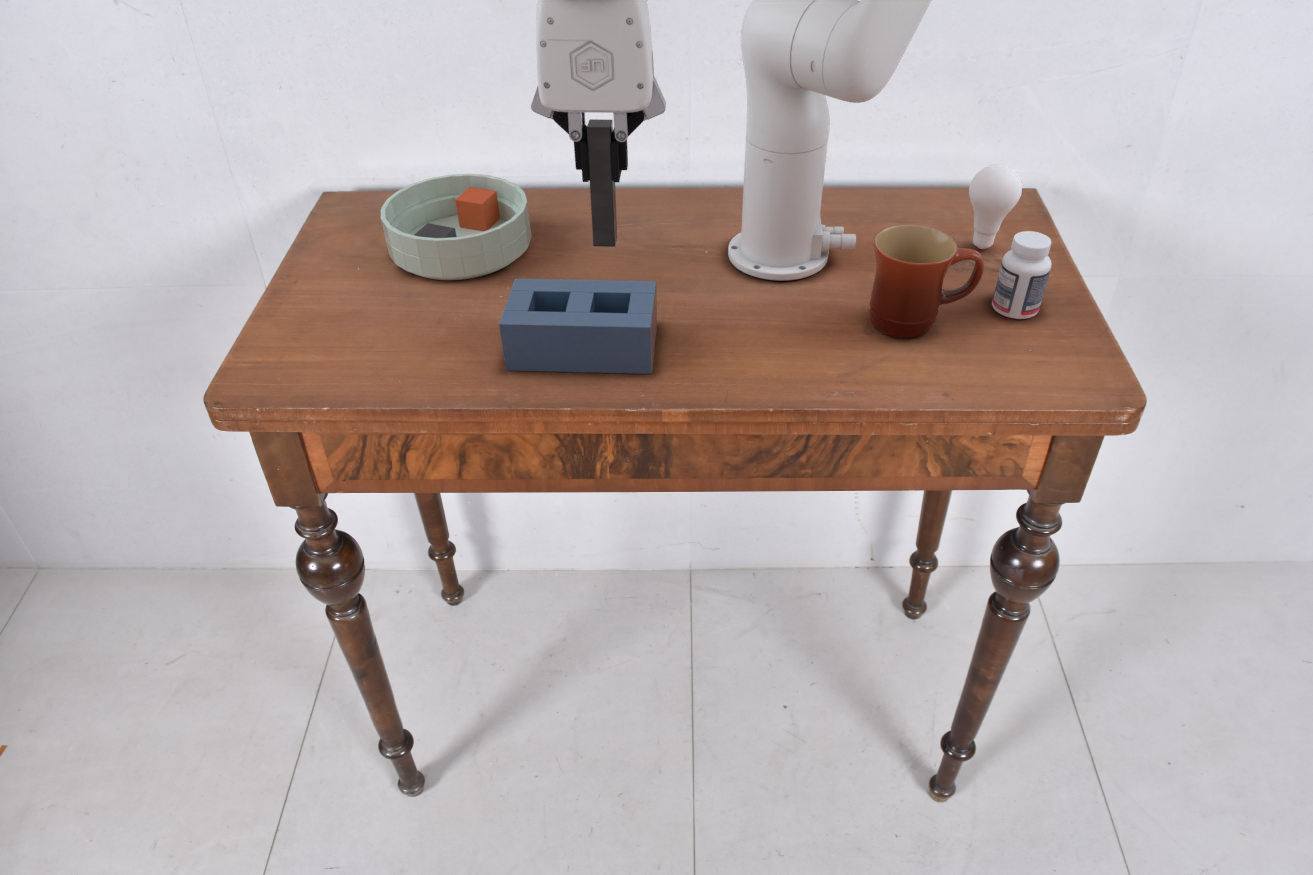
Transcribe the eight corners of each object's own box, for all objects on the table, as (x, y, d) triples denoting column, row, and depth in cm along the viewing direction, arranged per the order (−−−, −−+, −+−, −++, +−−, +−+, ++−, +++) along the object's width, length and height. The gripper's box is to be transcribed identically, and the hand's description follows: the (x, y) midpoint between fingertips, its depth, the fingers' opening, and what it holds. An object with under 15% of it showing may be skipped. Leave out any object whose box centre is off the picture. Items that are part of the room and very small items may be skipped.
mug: (864, 344, 102) (877, 262, 96) (858, 302, 109) (870, 222, 102) (975, 349, 101) (995, 267, 95) (963, 306, 108) (981, 226, 101)
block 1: (460, 256, 117) (455, 228, 115) (443, 271, 115) (438, 242, 112) (433, 251, 118) (427, 222, 116) (416, 266, 116) (410, 237, 113)
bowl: (541, 215, 127) (537, 174, 123) (517, 285, 113) (512, 241, 109) (411, 213, 128) (403, 172, 124) (372, 282, 114) (361, 239, 110)
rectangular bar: (617, 237, 94) (612, 119, 87) (615, 247, 92) (610, 127, 85) (595, 236, 94) (589, 119, 87) (593, 246, 93) (586, 127, 85)
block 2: (500, 218, 125) (496, 190, 122) (486, 232, 122) (482, 204, 120) (474, 214, 126) (469, 186, 123) (459, 227, 123) (454, 199, 121)
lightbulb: (953, 255, 117) (971, 173, 110) (960, 233, 121) (978, 153, 114) (1003, 263, 115) (1024, 180, 108) (1008, 241, 119) (1029, 160, 112)
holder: (520, 323, 107) (514, 278, 103) (657, 326, 106) (656, 280, 102) (505, 370, 100) (498, 324, 96) (651, 374, 99) (650, 327, 95)
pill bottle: (1039, 300, 109) (1059, 231, 103) (1037, 323, 105) (1058, 254, 99) (992, 292, 110) (1009, 225, 104) (989, 315, 106) (1007, 247, 101)
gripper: (487, -19, 75) (513, 192, 87) (684, -19, 74) (683, 195, 86) (505, -42, 81) (527, 159, 93) (688, -42, 80) (686, 161, 92)
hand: (602, 175), depth 89 cm, fingers closed on rectangular bar, 2 cm apart
